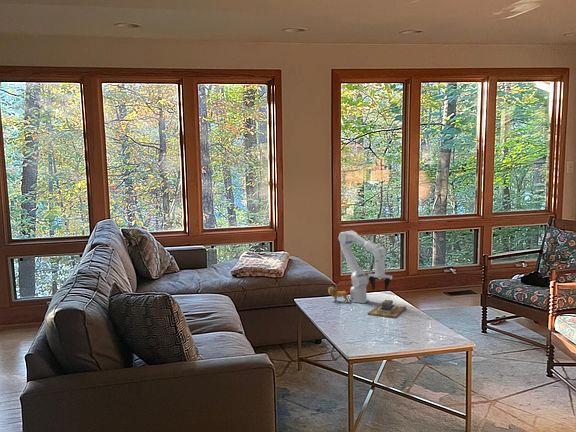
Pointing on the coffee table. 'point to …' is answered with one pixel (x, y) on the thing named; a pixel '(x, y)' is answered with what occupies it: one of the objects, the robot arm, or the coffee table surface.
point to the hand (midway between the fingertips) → (379, 290)
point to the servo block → (387, 304)
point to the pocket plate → (387, 311)
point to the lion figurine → (338, 294)
